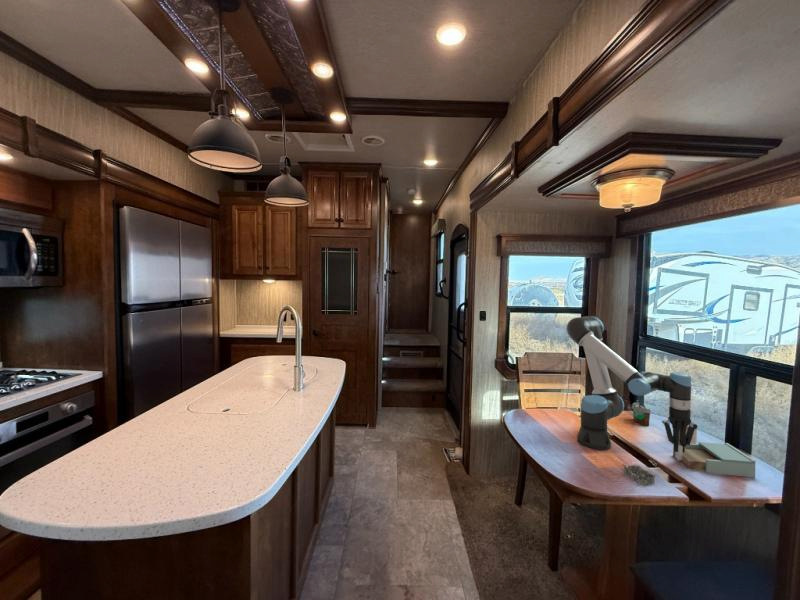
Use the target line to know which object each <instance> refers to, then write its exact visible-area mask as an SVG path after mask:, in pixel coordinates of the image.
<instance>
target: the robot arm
mask: <svg viewBox="0 0 800 600" xmlns="http://www.w3.org/2000/svg"><path fill="white" fill-rule="evenodd" d="M604 328H605V326H604V323H603V322H602V320H600V318H598V317H596V316H593V315H591V316H589V315H586V316H581V317H579V316H578V317H574V318H572V319H571V320H569V321H568V322H567V325H566V332H567V334H568V337H569V338H570V339H572V341H573V342H575V344H576V345H578V346H580V347H583V351H584V354H585V358H586V362H587V367H588V370H589V371H588V372H589V374H590V378H591V382H592V386H593V390H592V392H591V395H590V394H589V395H585V396H583V397H582V398H581V401H580V426H579V427H580V428H579V430H578V432H577V434H576V441H577V443H578V444H579V445H580V446H582V447H584V448H587V449H590V450H595V451H608V450H610V449H611V448H612V441H611V438H610V436H609V432H608V420H611V419H613V418H616V417H619V416H620V415H621V414H622V413H623V411H624V409H625V402H624V400H623V398H622V397H621V396H620V395H619V394H618V391H617V389H615V388H614V387H613V386H612V382H611V376H610V373H609V370H611V371H612V372H613V373H614V374H615V375H616V376H617V378H620V380H622V381H623V382H624V383H625V384H626V385H627V389H628V390H629V392H630V393H632V395H635V396H637V397H638V396H640V397H641V396H646V395H649V394H650V393H653V392H655V391H660V392H665V393H669V395H668V396H669V399H668V401H669V402H668V404H669V407H668V415H669V416H668V418H667V419H666V420H662V421H661V423H662V424H663V426H664V429H665V432H666V435H667V436H666V437H667V440H668V441H669V443H671V444H672V446H673V448H672V451H673V450H674V451H675V457H676V458H677V459H676V458H675V457H674V458H675V459H676V460H677V461H679V460H682V454H683V452H685V447H686V445H690V443H691V440H692V436H693V433H694V430H695V429H696V428H697V427H698V424H696V423H694V422H692V419H691V416H692V415H691V413H692V411H691V407H692V405H691V404H692V387H693V386H692V378H691V375H689V374H688V373H685V372H679V371H672V372H670V373H669V375H666V374H660V373H656V372H651V371H640V372H639V371H638V370H637V369H636V368H634V367H633V366H632V365H631V364H630V363H628V362H627V361H626V360H625V359H624V358H622V357H621V356H620V355H619V354H618V353H616V352H614V350H612V349H611V348H610V347H609V346H607V345H606V344H605V342H602V341H603V339H604V338H603V335H602V334H603V333H604V331H605V329H604ZM672 425H673V426H672ZM688 425H689V427H688V429H687V433H686V428H687V426H688ZM672 427H673V429H672ZM697 429H698V428H697Z"/></svg>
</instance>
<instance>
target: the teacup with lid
mask: <svg viewBox="0 0 800 600" xmlns="http://www.w3.org/2000/svg"><path fill="white" fill-rule="evenodd" d="M672 426H673V425H672V424H671V430H673V427H672ZM688 427H689V425H688V426H687V428H686V433H687V429H688ZM698 428H699V427H698V426H697V428H696V429H695V430H694V433H693V436H692V440H691V443H690V444H698V443H697V440H698V439H697V434H698Z"/></svg>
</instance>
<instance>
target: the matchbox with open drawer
mask: <svg viewBox="0 0 800 600" xmlns="http://www.w3.org/2000/svg"><path fill="white" fill-rule="evenodd" d="M685 449H693V450H705V451H709V452H710V453H712V454H713V455H714V456H716V457H717V458H718V459H720V460H711V459H706V471H705V472H706V473H707V474H716V475H729V476H738V477H750V478H756V464H757V463H756V459H753V458H751V456H749V455H747V454H746V453H744V452H743V451H741V450H739V449H738V448H736V447H735V446H733V445H731V443H728V442H725V443H715V442H705V441H704V442H702V441H699V442H698V443H696V444H690V445H686V447H685Z"/></svg>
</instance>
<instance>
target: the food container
mask: <svg viewBox="0 0 800 600" xmlns="http://www.w3.org/2000/svg"><path fill="white" fill-rule="evenodd" d="M631 409H632V412H633V413H632V415H633V422H634V423H635V424H637V425H639V426H643V427H644V426H645V427H649V426H650V418H651V417H650V416H651V413H652V412H651V409H649V408H648V409H647V407H645V406H643V405H641V404H640V402H633V403H632V404H631Z"/></svg>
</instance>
